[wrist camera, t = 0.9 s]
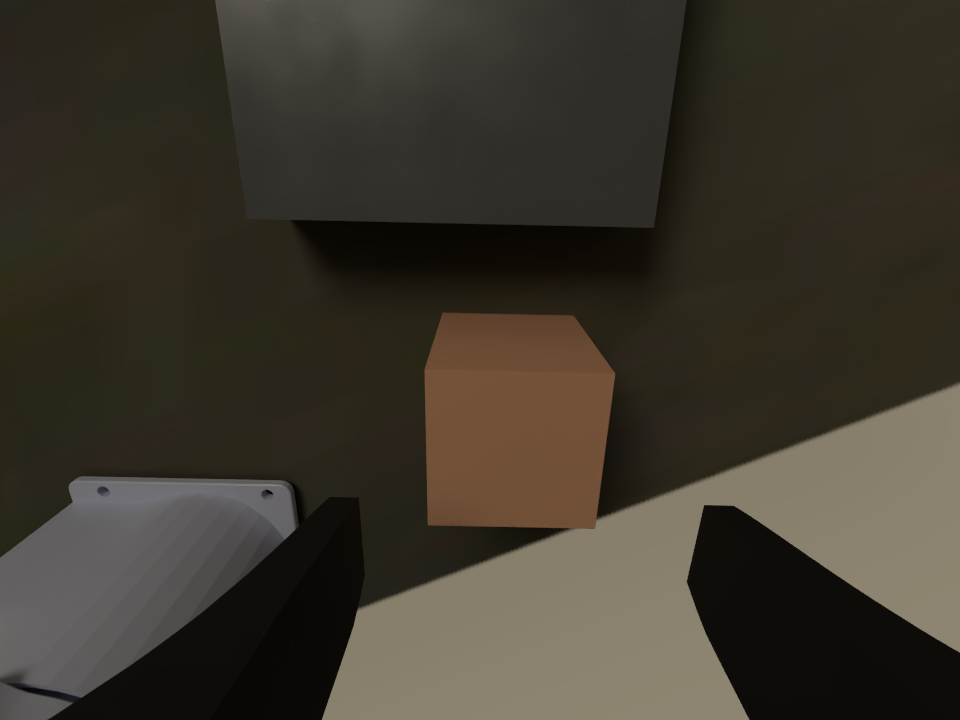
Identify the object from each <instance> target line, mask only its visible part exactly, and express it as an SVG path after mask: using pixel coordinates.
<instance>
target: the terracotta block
mask: <svg viewBox="0 0 960 720" xmlns="http://www.w3.org/2000/svg"><path fill="white" fill-rule="evenodd" d="M614 379H615V373H614V371H613V370H612V369H611V367H610V366H609V364H608V363H607V362H606V360H605V359H604V357H603V356H602V355H601V353H600V352H599V350H598V349H597V348H596V346H595V345H594V343H593V342H592V341H591V339H590V338H589V336H588V335H587V334H586V332H585V331H584V330H583V328H582V327H581V325H580V324H579V323H578V321H577V320H576V318H575V317H574V316H568V315H522V314H476V313H443V314H442V317H441V320H440V323H439V326H438V329H437V333H436V336H435V339H434V342H433V345H432V348H431V351H430V355H429V358H428V361H427V364H426V367H425V408H426V455H427V502H428V525H442V526H490V527H538V528H587V529H588V528H589V529H594V528H595V524H596V517H597V509H598V502H599V494H600V486H601V479H602V471H603V463H604V456H605V448H606V440H607V433H608V425H609V418H610V410H611V402H612V395H613V387H614Z"/></svg>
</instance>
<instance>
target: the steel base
mask: <svg viewBox="0 0 960 720" xmlns="http://www.w3.org/2000/svg"><path fill="white" fill-rule="evenodd" d="M215 1H216V8H217V15H218V22H219V29H220V36H221V43H222V50H223V56H224V63H225V70H226V77H227V84H228V91H229V98H230V105H231V112H232V119H233V125H234V132H235V139H236V146H237V153H238V160H239V167H240V174H241V181H242V188H243V194H244V201H245V208H246V215H247V219H277V220H323V221H368V222H413V223H459V224H504V225H549V226H595V227H640V228H654V224H655V217H656V210H657V203H658V196H659V189H660V182H661V176H662V169H663V162H664V155H665V148H666V141H667V134H668V127H669V120H670V113H671V106H672V99H673V92H674V85H675V78H676V72H677V65H678V58H679V51H680V44H681V37H682V30H683V23H684V16H685V9H686V2H687V0H215Z"/></svg>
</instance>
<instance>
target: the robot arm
mask: <svg viewBox="0 0 960 720" xmlns="http://www.w3.org/2000/svg"><path fill="white" fill-rule="evenodd" d="M105 487H106V488H107V489H108V490H107V489H106V488H105ZM266 490H270V491H271V492H273V494H269V493H267V492H266ZM69 491H70V494H71V497H72V500H73V503H71V504H70V505H69V506H68V507H66V508H65V509H64V510H62V511H61V512H60V513H58V514H57V515H56V516H54V517H53V518H52V519H51V520H49V521H48V522H47V523H45V524H44V525H43V526H41V527H40V528H39V529H37V530H36V531H35V532H34V533H32V534H31V535H30V536H28V537H27V538H26V539H24V540H23V541H22V542H20V543H19V544H18V545H17V546H15V547H14V548H13V549H11V550H10V551H9V552H7V553H6V554H5V555H3V556H2V557H1V558H0V720H322V717H323V714H324V711H325V708H326V705H327V703H328V700H329V697H330V694H331V691H332V688H333V685H334V682H335V679H336V676H337V673H338V670H339V667H340V665H341V661H342V658H343V656H344V653H345V650H346V647H347V644H348V641H349V638H350V635H351V632H352V628H353V626H354V621H355V617H356V613H357V609H358V604H359V600H360V595H361V590H362V586H363V581H364V576H365V572H364V559H363V547H362V534H361V521H360V509H359V498H343V497H329V498H328V499H327V500H326V501H325V502H324V503H323V504H321V505H320V506H319V507H318V508H317V509H316V510H315V511H314V512H313V513H312V514H311V515H310V516H309V517H308V518H307V519H306V520H305V521H304V522H303V523H302V524H301V525H299V523H298V516H297V509H296V502H295V494H294V489H293V487H292V486H291V484H290V483H288V482H286V481H281V480H235V479H185V478H136V477H86V476H83V477H79V478H77V479H76V480H74V481H73V482H71V483H70V485H69ZM687 583H688V586H689V589H690V592H691V595H692V598H693V600H694V603H695V606H696V609H697V612H698V614H699V617H700V620H701V622H702V625H703V627H704V630H705V632H706V634H707V637H708V639H709V641H710V643H711V645H712V647H713V649H714V651H715V653H716V655H717V657H718V658H719V661H720V662H721V665H722V667H723V668H724V670H725V673H726V675H727V676H728V678H729V680H730V682H731V684H732V686H733V688H734V690H735V692H736V694H737V696H738V698H739V700H740V702H741V704H742V706H743V708H744V710H745V712H746V714H747V716H748V717H749V720H960V653H959V652H958V651H956V650H954V649H952V648H950V647H949V646H947V645H946V644H944V643H942V642H940V641H939V640H937V639H935V638H934V637H932V636H930V635H929V634H927V633H925V632H924V631H922V630H920V629H919V628H917V627H916V626H914V625H913V624H911V623H909V622H908V621H906V620H905V619H903V618H901V617H900V616H898V615H897V614H895V613H893V612H892V611H890V610H888V609H887V608H886V607H884V606H882V605H881V604H879V603H878V602H876V601H874V600H873V599H871V598H870V597H868V596H867V595H865V594H864V593H862V592H861V591H859V590H858V589H856V588H855V587H853V586H852V585H850V584H849V583H847V582H845V581H844V580H843V579H841V578H840V577H838V576H837V575H835V574H834V573H832V572H831V571H829V570H828V569H826V568H825V567H823V566H822V565H821V564H819V563H818V562H816V561H815V560H813V559H812V558H810V557H809V556H807V555H806V554H805V553H803V552H802V551H800V550H799V549H797V548H796V547H794V546H793V545H792V544H790V543H789V542H787V541H786V540H784V539H783V538H781V537H780V536H779V535H777V534H776V533H774V532H773V531H771V530H770V529H768V528H767V527H765V526H764V525H763V524H761V523H760V522H758V521H757V520H755V519H754V518H752V517H751V516H749V515H748V514H746V513H744V512H743V511H741V510H739V509H738V508H736V507H735V506H713V505H704V509H703V513H702V517H701V522H700V526H699V531H698V535H697V539H696V544H695V548H694V553H693V557H692V562H691V566H690V570H689V575H688V579H687Z"/></svg>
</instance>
